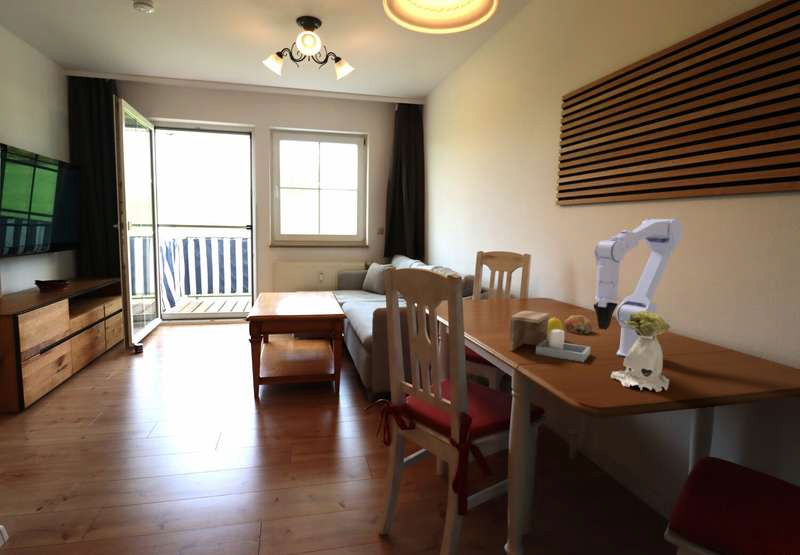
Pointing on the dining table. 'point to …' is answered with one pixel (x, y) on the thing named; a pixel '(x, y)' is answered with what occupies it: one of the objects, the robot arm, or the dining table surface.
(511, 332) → the counter shelf
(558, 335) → the beige rounded lump
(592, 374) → the dining table surface
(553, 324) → the lemon
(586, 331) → the bread roll
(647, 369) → the potted plant vase
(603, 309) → the robot arm
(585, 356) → the tray
